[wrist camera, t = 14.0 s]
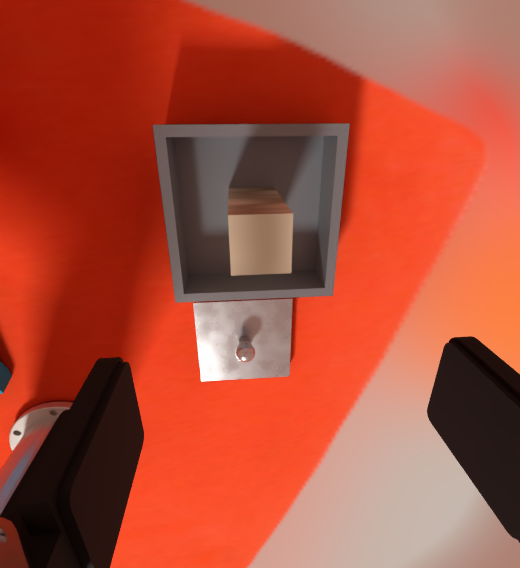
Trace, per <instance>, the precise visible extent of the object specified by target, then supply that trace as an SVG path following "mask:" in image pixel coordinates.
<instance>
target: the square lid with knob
mask: <svg viewBox="0 0 520 568" xmlns="http://www.w3.org/2000/svg"><path fill="white" fill-rule="evenodd" d="M292 302H293V298H292V297H291V298H268V299H246V300H223V301H200V302H193V306H194V316H195V326H196V335H197V345H198V354H199V364H200V374H201V382H202V381H218V380H235V379H251V378H268V377H284V376H290V352H291V327H292Z"/></svg>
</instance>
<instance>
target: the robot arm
mask: <svg viewBox="0 0 520 568" xmlns="http://www.w3.org/2000/svg"><path fill="white" fill-rule="evenodd" d="M427 414H428V418H429V420H430V422H431V423H432V425H433V426H434V428H435V429H436V431H437V432H438V433H439V435H440V436H441V438H442V439H443V441H444V442H445V443H446V445H447V446H448V448H449V449H450V450H451V452H452V453H453V455H454V456H455V458H456V459H457V461H458V462H459V463H460V465H461V466H462V468H463V469H464V471H465V472H466V473H467V475H468V476H469V478H470V479H471V480H472V482H473V483H474V485H475V486H476V488H477V489H478V491H479V492H480V493H481V495H482V496H483V498H484V499H485V501H486V502H487V504H488V505H489V506H490V508H491V509H492V510H493V512H494V513H495V515H496V516H497V518H498V519H499V521H500V522H501V524H502V525H503V526H504V528H505V529H506V531H507V532H508V533H509V534H510V535H511V536H512V537H513V538H515V539H518V541H519V542H520V374H518V373H517V372H516V371H515V370H514V369H513V368H511V367H510V366H509V365H508V364H506V363H505V362H504V361H503V360H502V359H500V358H499V357H498V356H497V355H496V354H494V353H493V352H492V351H491V350H490V349H488V348H487V347H486V346H485V345H484V344H482V343H481V342H480V341H479V340H478V339H476V338H475V337H455V338H452V339H450V341H449V343H446V344H445V346H444V349H443V353H442V357H441V360H440V364H439V368H438V371H437V375H436V379H435V382H434V386H433V390H432V394H431V397H430V401H429V405H428V408H427ZM143 440H144V431H143V426H142V421H141V416H140V411H139V407H138V402H137V397H136V392H135V388H134V383H133V378H132V373H131V369H130V365H129V363H128V362H123V360H122V358H120V357H117V358H100V359H98V360H97V361H96V363H95V365H94V367H93V368H92V370H91V372H90V374H89V375H88V377H87V379H86V381H85V382H84V384H83V386H82V388H81V389H80V391H79V393H78V395H77V397H76V398H75V400H74V402H49V403H43V404H40V405H37V406H34V407H32V408H30V409H28V410H27V411H25V412H24V413H23V414H22V415H21V416H19V418H18V419H17V421H16V422H15V423H14V425H13V426H12V428H11V430H10V435H9V442H10V447H11V449H12V453H11V454H10V456H9V457H8V459H7V460H6V462H5V463H4V465H3V466H2V468H1V469H0V568H110V565H111V561H112V557H113V554H114V550H115V546H116V543H117V539H118V535H119V531H120V528H121V524H122V520H123V516H124V513H125V509H126V505H127V502H128V498H129V494H130V490H131V487H132V483H133V479H134V476H135V472H136V468H137V464H138V461H139V457H140V453H141V450H142V446H143Z"/></svg>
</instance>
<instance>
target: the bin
mask: <svg viewBox="0 0 520 568" xmlns="http://www.w3.org/2000/svg"><path fill="white" fill-rule="evenodd" d="M349 127H350V123H344V124H181V125H153V133H154V141H155V148H156V156H157V164H158V172H159V179H160V187H161V195H162V202H163V210H164V218H165V226H166V233H167V241H168V249H169V256H170V264H171V272H172V279H173V287H174V295H175V303H177V302H200V301H223V300H246V299H268V298H291V297H314V296H333V290H334V280H335V270H336V259H337V249H338V239H339V229H340V218H341V208H342V198H343V188H344V178H345V167H346V157H347V147H348V137H349ZM253 187H274V188H275V189H276V191H277V192H278V193H279V195H280V196H281V197H282V199H283V200H284V201H285V203H286V204H287V206H288V207H289V208H290V210H291V211H292V212H293V237H292V267H291V273H284V274H260V275H236V276H231V266H230V246H229V226H228V189H229V188H253Z"/></svg>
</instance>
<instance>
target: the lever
mask: <svg viewBox="0 0 520 568" xmlns="http://www.w3.org/2000/svg"><path fill="white" fill-rule="evenodd" d="M11 377H12V375H11V373H10V371H9V370H8V368H7V367H6V366H5V365H4V364H3V363H1V362H0V394H2V393H3V392H4V390H5V389H6V387H7V385H8V383H9V381H10V379H11Z"/></svg>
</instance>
